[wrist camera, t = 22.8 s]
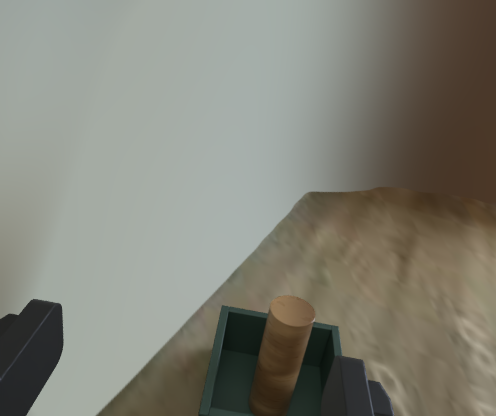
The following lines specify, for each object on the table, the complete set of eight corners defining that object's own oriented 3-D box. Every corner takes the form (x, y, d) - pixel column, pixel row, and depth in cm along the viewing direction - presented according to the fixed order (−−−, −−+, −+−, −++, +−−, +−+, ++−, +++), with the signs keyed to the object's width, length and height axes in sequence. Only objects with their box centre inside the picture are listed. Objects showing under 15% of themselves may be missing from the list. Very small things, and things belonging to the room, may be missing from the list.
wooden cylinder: (246, 418, 43) (268, 321, 37) (250, 384, 46) (270, 291, 41) (288, 425, 43) (316, 330, 37) (288, 391, 46) (314, 299, 41)
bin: (190, 462, 39) (198, 413, 36) (214, 348, 51) (222, 304, 48) (334, 489, 39) (354, 442, 36) (324, 368, 51) (338, 326, 48)
